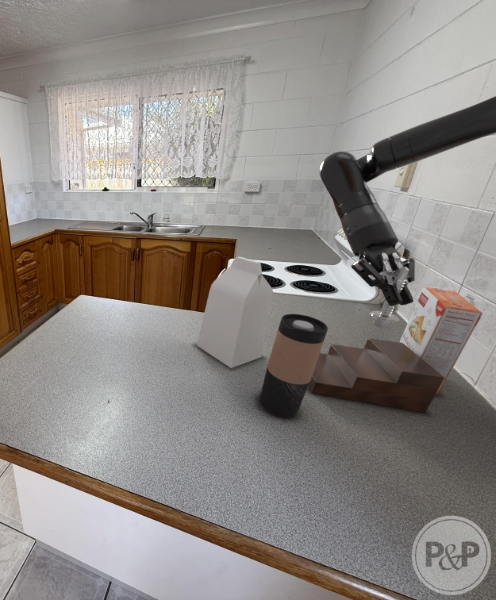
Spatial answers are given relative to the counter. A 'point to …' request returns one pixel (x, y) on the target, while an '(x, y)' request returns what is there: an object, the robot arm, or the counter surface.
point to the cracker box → (440, 328)
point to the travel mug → (292, 364)
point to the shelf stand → (377, 375)
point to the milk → (237, 314)
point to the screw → (385, 316)
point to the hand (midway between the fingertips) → (401, 303)
